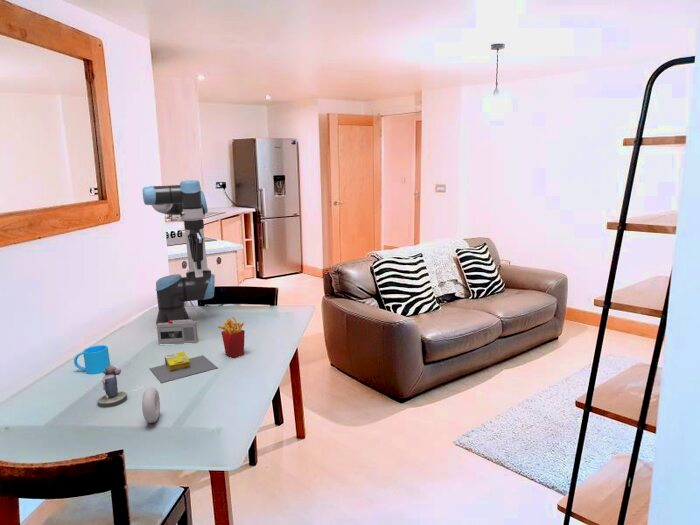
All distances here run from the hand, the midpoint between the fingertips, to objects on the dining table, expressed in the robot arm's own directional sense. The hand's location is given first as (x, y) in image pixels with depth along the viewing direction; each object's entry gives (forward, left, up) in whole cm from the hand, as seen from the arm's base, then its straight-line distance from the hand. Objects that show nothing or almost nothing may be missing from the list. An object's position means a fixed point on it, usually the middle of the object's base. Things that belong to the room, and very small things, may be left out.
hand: (199, 276), depth 204 cm
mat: (+22, -16, -29) cm, 40 cm away
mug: (+1, -43, -29) cm, 52 cm away
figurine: (+34, -42, -29) cm, 61 cm away
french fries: (+21, +3, -29) cm, 36 cm away
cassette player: (-8, -9, -29) cm, 31 cm away
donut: (+56, -35, -29) cm, 72 cm away
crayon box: (+13, -16, -27) cm, 34 cm away
